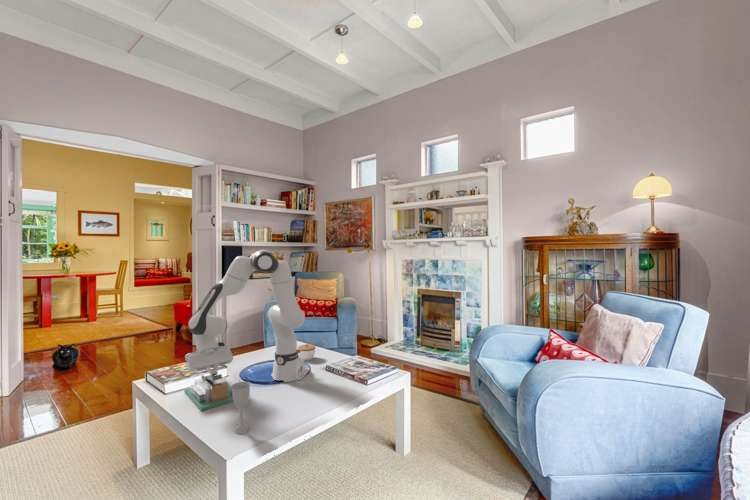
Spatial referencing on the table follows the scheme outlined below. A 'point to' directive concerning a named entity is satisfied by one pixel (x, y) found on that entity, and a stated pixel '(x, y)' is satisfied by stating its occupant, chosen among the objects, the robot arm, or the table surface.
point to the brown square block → (219, 391)
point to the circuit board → (207, 405)
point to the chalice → (241, 402)
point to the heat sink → (207, 388)
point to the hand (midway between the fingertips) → (214, 374)
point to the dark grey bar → (213, 377)
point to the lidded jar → (307, 352)
